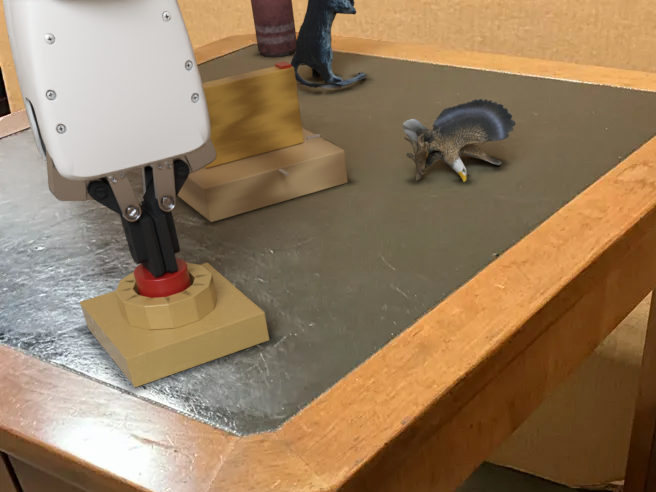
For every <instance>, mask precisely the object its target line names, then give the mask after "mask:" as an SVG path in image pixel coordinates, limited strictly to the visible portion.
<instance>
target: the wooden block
mask: <svg viewBox="0 0 656 492" xmlns="http://www.w3.org/2000/svg"><path fill="white" fill-rule="evenodd" d="M274 65H275V66H271V67H266V68H261V69H258V70H254V71H248V72H244V73H240V74H236V75H232V76H227V77H222V78H218V79H214V80H213V79H212V80H209V81H205V82H202V84H203V89H204V93H205V97H206V102H207V106H208V111H209V117H210V125H211V137H210V139H211V141H212V144H213V146H214V148H215V150H216V154H217V155H216V159H215V160H214V161H213V162H212V163H210V164H208V165H207V166H205V168H210V167H214V166H217V165H221V164H225V163H229V162H232V161H236V160H240V159H244V158H247V157H251V156H255V155H259V154H262V153H266V152H270V151H274V150H277V149H281V148H285V147H289V146H292V145H296V144H300V143H303V142H304V140H303V132H302V128H303V124H302V117H301V109H300V102H299V94H298V87H297V80H296V78H295V70H294V67H292V66H291V63H290V62H287V61H286V60H285V61H281V62H276V63H274Z"/></svg>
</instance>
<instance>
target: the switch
mask: <svg viewBox="0 0 656 492" xmlns="http://www.w3.org/2000/svg"><path fill="white" fill-rule="evenodd" d="M185 262H186V264H187V268H188V272H189V277H190V281H191V286H190V287H189V288H187V289H186V290H184V291H183V292H180V293H177V294H174V295H171V296H167V297H158V298H150V297H145V296H141V295H139V291H138V288H137V284H136V280H135V277H134V271H132V272H131V273H129V274H128V275H126V276H125V277H122V279H120V280H119V282H118V285H117V287H116V289H115V290H114V291H113V290H112V291H110V292H106V293H105V294H104V293H103V294H100V295H97V296H94V297H91V298H90V297H89V298H88V299H85V300H81V301H79V304H80V308H81V311H82V314H83V317H84V320H85V323H86V326H87V329H88V330H89V332H90V333H91V334H92V335H93V337H94V338H95V339H96V340H97V342H98V343H99V344H100V345H101V347H102V348H103V349H104V351H105V352H106V353H107V354H108V356H109V357H110V358H111V359H112V361H113V362H114V363H115V365H116V366H117V368H118V369H119V370H120V371H121V372H122V374H123V375H124V376H125V378H126V379H127V380H128V381H129V382H130V383H131V385H132V386H133V387H134V388H138V387H140V386H144V385H146V384H149V383H152V382H155V381H158V380H160V379H164V378H166V377H170V376H172V375H174V374H178V373H181V372H183V371H186V370H190V369H192V368H195V367H197V366H200V365H204V364H206V363H209V362H212V361H216V360H218V359H221V358H224V357H226V356H229V355H232V354H235V353H237V352H241V351H242V350H243V351H244V350H246V349H249V348H251V347H255V346H257V345H259V344H260V345H261V344H263V343H266V342H268V341H270V336H269V329H268V324H267V318H266V313H265V311H264V310H263V309H261V307H259V306H258V305H257V304H256V303H255V302H253V301H252V299H250V298H249V297H248V296H247V295H245V294H244V293H243V292H242V291H241V290H240V289H238V288H237V287H236V286H235V285H234V284H233V283H231V281H230V280H228V279H227V278H226V277H225V276H223V274H222V273H220V272H219V271H218V269H215V268H214V267H213V266H212V265H211V264H210V262H209V263H208V262H204V263H201V264H197V263H193V262H187V261H185Z"/></svg>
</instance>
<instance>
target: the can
mask: <svg viewBox="0 0 656 492" xmlns="http://www.w3.org/2000/svg"><path fill="white" fill-rule="evenodd" d="M250 5H251V11H252V18H253V25H254V30H255V39H256V44H257V50H258V52H259V54H260V55H261V56H263V57H264V58H265V57H266V58H280V57H287V56H291V55H294V54H295V52H296V41H297V31H296V23H295V16H294V9H293V7H294V6H293V0H250Z"/></svg>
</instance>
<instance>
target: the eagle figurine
mask: <svg viewBox="0 0 656 492" xmlns="http://www.w3.org/2000/svg"><path fill="white" fill-rule="evenodd" d="M512 118H513V114H512V113H510V112H509V109H508V108H506V107H504V104H502V103H498V102H496V101H493V100H491V99H490V100H488V99H485V98H484V99H483V98H479V99H477V98H475V99H473V100H472V101H467V102H465V103H459V104H458V105H454V106H449V107H446V108H443V109H442V111H441V112H440V113H439V114H438V116H437V117H436V119H435V120H434V121H433V124H432V129H430V128H427V126H425V125H424V124H422V122H420V121H419V120H418V119H417V118H412V119H411V118H410V119H407V120H405V121H404V122H403V123H402V129H403V132H404V134H405V135H406V136H404V140H406V141H407V142H409V143H410V144H411V147H412V150H413V153H414V154H413V153H411V152H407V153H406V154H405V155H406V157H407V158H408V159H411V160H412V161H413V162H414V164H415V170H416V171H415V177H414V178H415V181H416V182H419V181H420V180H422V178H423V176H425V174H427V171H428V169H429V168H430V167H431V165H432V164H434V163H435V162H437V161H439V160H440V161H442V162H443V163H444V164H445V165H446V166H448V167H449V168H451V169H452V170H453V171H455V172H456V174H458V176H460V178H461V180H462V182H463V183H465V182H467V168H466V166H465V164H464V163H463V161H462V159H461V156H466V157H471V158H474V159H478V160H482V161H485V162H486V163H490V164H492V165H495V166H501V165H502V161H501V160H499V159H497V158H494V157H492V156H490V155H488V154H487V152H485V151H484V149H482V148H481V147H480V146H479V145H481V144H485V143H488V142H497V141H498V142H499V141H502V140H505V139H508V138H509V136H510V133H511V132H513V131H514V127H515V126H516V122H515V120H514V119H512Z"/></svg>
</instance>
